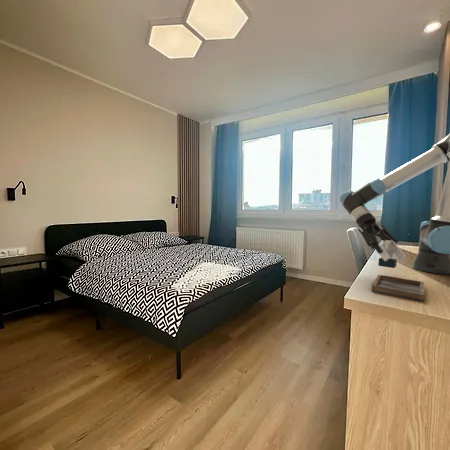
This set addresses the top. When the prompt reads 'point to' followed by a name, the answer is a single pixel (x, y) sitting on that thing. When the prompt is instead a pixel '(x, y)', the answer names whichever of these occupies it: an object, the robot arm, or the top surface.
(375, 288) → the valet tray
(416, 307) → the top surface
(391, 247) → the rubber stamp
